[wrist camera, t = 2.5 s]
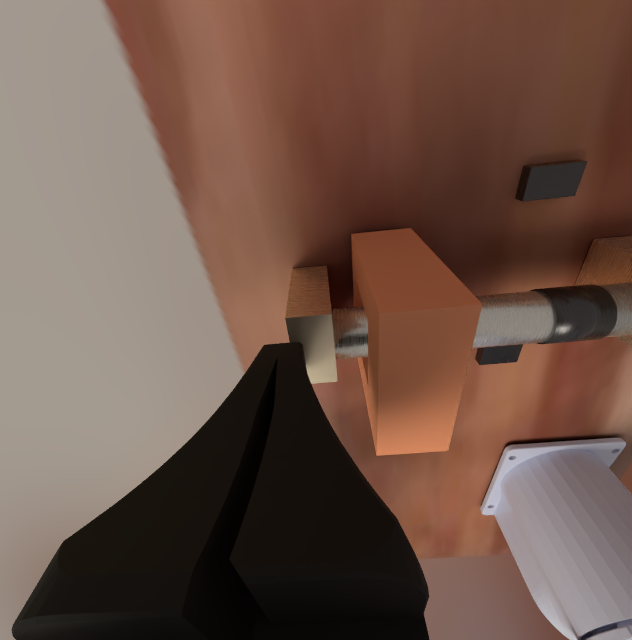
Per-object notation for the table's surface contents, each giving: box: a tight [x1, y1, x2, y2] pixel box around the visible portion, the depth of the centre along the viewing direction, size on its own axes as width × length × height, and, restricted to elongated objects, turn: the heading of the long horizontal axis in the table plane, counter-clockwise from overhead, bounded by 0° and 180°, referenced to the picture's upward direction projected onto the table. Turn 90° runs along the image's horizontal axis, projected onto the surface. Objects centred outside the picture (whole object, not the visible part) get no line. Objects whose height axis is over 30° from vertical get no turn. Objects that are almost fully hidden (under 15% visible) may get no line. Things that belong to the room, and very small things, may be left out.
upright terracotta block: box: [351, 228, 482, 456], centre depth 12 cm, size 2×6×6 cm, turn 6°
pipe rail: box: [285, 160, 632, 384], centre depth 13 cm, size 15×10×4 cm, turn 96°
